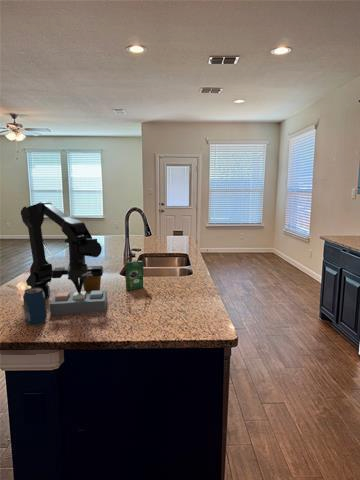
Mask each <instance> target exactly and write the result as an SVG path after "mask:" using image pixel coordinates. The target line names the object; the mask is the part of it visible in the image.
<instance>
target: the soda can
mask: <svg viewBox="0 0 360 480" xmlns="http://www.w3.org/2000/svg"><path fill="white" fill-rule="evenodd" d="M22 297H23V309H24V319H25V320H24V321H25V322H26V323H27V324H28V325H29V326H39V325H41V323H42V324H44V323H45V322H46V320H47V315H48V313H47V305H46V299H45V293H44V291H43V289H42V288H39V287H36V288H31V287H30V288H27V289H25V290H24V293H23V295H22ZM43 322H44V323H43ZM38 324H39V325H38Z"/></svg>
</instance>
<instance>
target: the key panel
mask: <svg viewBox="0 0 360 480" xmlns="http://www.w3.org/2000/svg"><path fill="white" fill-rule="evenodd" d="M74 292H75V291H74ZM74 292H69V295H70V297H69V299H68V300H57V301H56V300H55V296H56V295H57V293H56V294H55V295H54V297H53V298H52V300H51V301H50V302H49V313H50V316H62V315H61V314H66V315H79V314H80V313H81V314H95V313H106V308H107V303H108V290H103V298H91V299H90V294H91V291H89V292H86V299H74V300H73V294H74ZM81 314H80V315H81Z"/></svg>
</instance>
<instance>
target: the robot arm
mask: <svg viewBox="0 0 360 480" xmlns="http://www.w3.org/2000/svg"><path fill="white" fill-rule="evenodd" d="M45 216H46V217H47V218H49V219H50V220H51V221H52V222H54V223H55V224H56V225H58V226H59V227H60V228H61V232H62V233H63V235H65V236H66V237H67V238H66V239H65V240H64V243H68V255H69V262H68V268H67V269H66V268H65V266H64V267H54V269H53V265H52V263H49V262H48V260H47V258H46V252H45V245H44V239H43V232H42V231H43V230H42V225H43V223H44V221H45ZM20 217H21V219H22V222H23V224H24V225H25V226H26V227H27V229H28V237H29V243H30V249H31V250H30V251H31V256H32V257H31V258H32V263H31V265H30V268H29V270H30V271H29V275H28V277H27V278H26V280H25V283H26V286H28V287H30V288H36V287H39V288H42V289H43V291H44V293H45V300H46V299H48V298H49V296H50V295H51V290H50V285H49V283H51V282H52V279H61V278H62V277H63V276H66V275H67V280H69V281H71V282H72V283H73V285H74V287H75V289H76V292H78V293H81V291H82V288H83V282H84V280H85V279H87V278H88V276H89V274H92V275H93V276H101V277H102V276H103V274H104V267H103V266H102V265H92V266H93V267H92V269H88V267H87V266H88V263H86V257H91V258H98V257H99V256H100V255H101V254H102V249H103V248H102V246H101V243H100V242H98V239H97V238H93V237H92V234H91V233H90V231H89V229H88V228H87V227H86V224H85V223H84V222H83V221H82V220H79V219H77V218H73V217H70V216H68V215H67V214H66V213H65V212H63V211H61V210H60V209H59V208H57V207H56V206H55V205H53V203H52V202H50V201H40V202H38V203H36V204H32V205H29V206H23V207H22V209H21V210H20Z"/></svg>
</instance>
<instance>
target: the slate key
mask: <svg viewBox="0 0 360 480" xmlns="http://www.w3.org/2000/svg"><path fill="white" fill-rule="evenodd" d="M103 291H104V290H103V289H100V291H91V294H90V299H91V298H103Z"/></svg>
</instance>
